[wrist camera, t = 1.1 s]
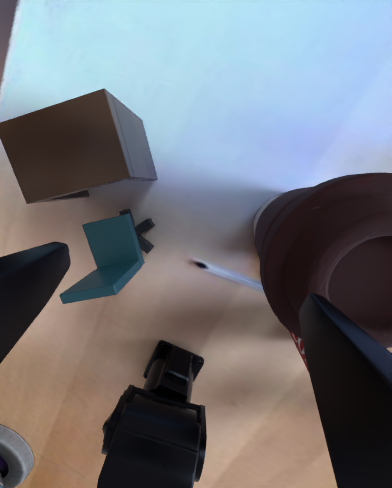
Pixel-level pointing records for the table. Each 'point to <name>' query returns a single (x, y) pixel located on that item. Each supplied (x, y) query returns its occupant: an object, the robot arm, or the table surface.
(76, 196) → the desk
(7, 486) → the webcam
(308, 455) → the table surface
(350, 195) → the coffee cup
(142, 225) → the office chair
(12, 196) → the table surface
